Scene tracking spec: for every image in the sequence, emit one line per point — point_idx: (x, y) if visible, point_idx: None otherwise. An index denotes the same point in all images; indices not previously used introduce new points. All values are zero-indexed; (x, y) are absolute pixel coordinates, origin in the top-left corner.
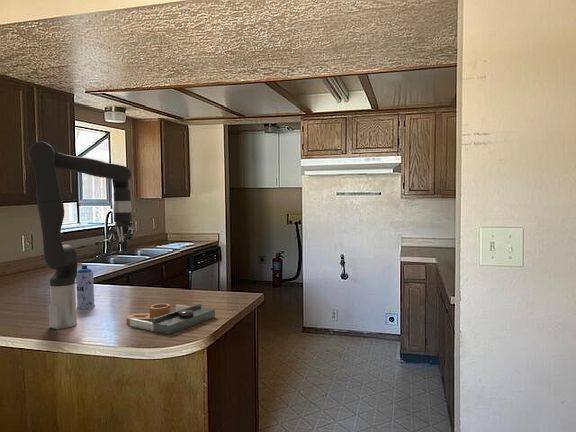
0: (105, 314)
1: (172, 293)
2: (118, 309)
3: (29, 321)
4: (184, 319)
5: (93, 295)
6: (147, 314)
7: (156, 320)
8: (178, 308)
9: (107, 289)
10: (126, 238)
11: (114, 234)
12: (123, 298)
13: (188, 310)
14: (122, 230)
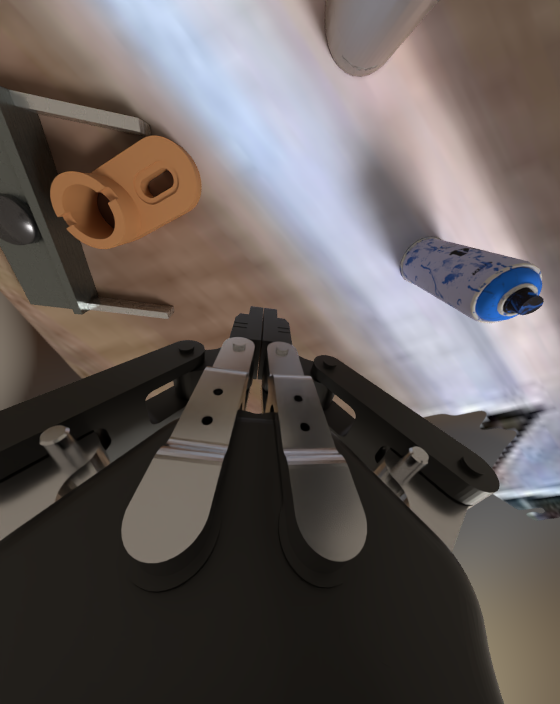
0: (319, 216)
1: None
2: (318, 272)
3: (545, 6)
4: None
5: (418, 280)
6: (154, 209)
7: None
8: (159, 308)
9: (447, 390)
10: (154, 354)
11: (400, 406)
12: (369, 350)
13: (19, 239)
14: (164, 444)
